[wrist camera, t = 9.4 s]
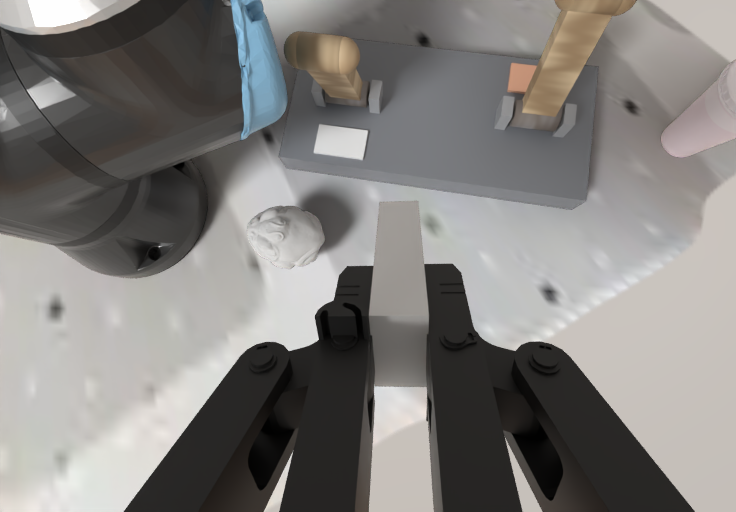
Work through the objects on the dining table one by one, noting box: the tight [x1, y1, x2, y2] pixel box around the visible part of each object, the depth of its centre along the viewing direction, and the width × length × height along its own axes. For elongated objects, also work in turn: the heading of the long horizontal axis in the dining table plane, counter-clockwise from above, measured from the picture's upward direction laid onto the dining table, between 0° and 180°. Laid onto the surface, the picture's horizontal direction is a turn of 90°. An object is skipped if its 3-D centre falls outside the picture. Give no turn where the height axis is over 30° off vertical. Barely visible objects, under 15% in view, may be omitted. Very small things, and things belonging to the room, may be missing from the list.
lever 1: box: [284, 31, 370, 108], centre depth 33 cm, size 5×2×13 cm, turn 80°
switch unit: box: [279, 38, 599, 210], centre depth 39 cm, size 30×14×6 cm, turn 80°
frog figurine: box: [247, 206, 325, 269], centre depth 37 cm, size 6×7×7 cm
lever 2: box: [509, 0, 637, 132], centre depth 31 cm, size 5×2×13 cm, turn 80°
